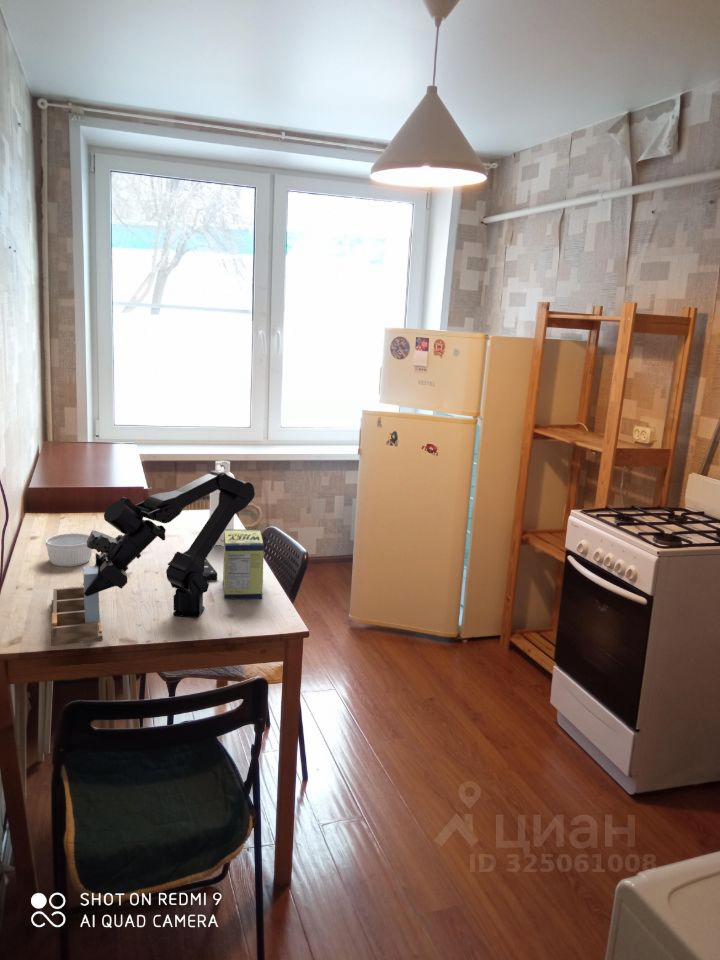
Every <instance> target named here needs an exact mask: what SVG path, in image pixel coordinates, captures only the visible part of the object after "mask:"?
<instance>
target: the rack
mask: <svg viewBox="0 0 720 960" xmlns="http://www.w3.org/2000/svg"><path fill="white" fill-rule="evenodd" d="M52 590H53V594H52V599H51V609H50V611H51V612H50V613H51V615H50V646H56V645H65V644H75V643H83V642H84V643H85V642H94V641H103V629H102V623H101V615H100V613H99V623H88V624H85V610H84V586H75V587H73V586H72V587H61V588H53V589H52Z"/></svg>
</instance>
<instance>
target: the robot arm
mask: <svg viewBox="0 0 720 960" xmlns="http://www.w3.org/2000/svg"><path fill="white" fill-rule="evenodd" d="M216 490H219V491H220V493H219V504H218V506H217V508H216V509H215V511H214V512H213V514H212V515H211V517H210V516H209V517H210V518H208V520H206V523H205V524H204V526H203V527H202V528H201V530H200V531H199V533H198V534H197V536H196V537H195V539H194V540H193V542H192V543H191V545H190V547H189V548H188V549H187V550H186V551H184V552H180V551H176V552H175V554H173V557H172V558H171V560H170V561H169V562H168V563H167V569H166V571H165V573H166V579H167V581H168V582H169V583H170V587H172V588H173V589H176V590H175V594H174V595H173V611H174V612H173V614H172V615H173V616H175V617H184V618H185V617H187V618H199V617H200V615H201V614H202V613H203V611H204V610H205V609H206V608H205V606H204V605H203V604H204V601H203V600H204V593H207V592H208V589H209V585H210V584H209V581H206V580H204V579H203V578H202V575H203V573H204V565H205V559H207V558H208V556H209V554H210V552H212V550H213V548H214V547H215V546H214V545H215V544H216V542H217V541H218V539H219V538H220V536H221V534H222V533H223V531H224V530H225V528H226V527H227V525H228V524H229V522H230V521H231V519H232V518H233V516H234V517H235V515H236V514H238V513H239V512H241V511H242V510H244V509H246V508H247V507H248V505H249V504H250V503H251V502H252V501H253V499H254V498H255V494H256V493H255V486H254V485H253V483H251V482H248V481H245V480H241V479H237V478H235V479H234V478H232V477H230V476H228V475H226V474H225V473H223V472H219V471H215V469H214V470H210V471H209V472H207V473H206V474H204V475H202V476H201V477H198V478H197V479H195V480H193V481H191V482H189V483H187V484H184V485H183V486H181V487H178V488H177V489H175V490H172V491H165V492H158V493H155V494H152V495H149V496H147V497H146V498H145V499H144V500H143V501H142V502H139V503H136V504H134V503H133V502H132V500H131V499H129V498H128V497H125V496H121V497H120V498H119V500H116V501H114V502H113V503H112V504H110V505H108V506H107V508H106V509H105V511H104V515H103V520H104V521H105V522H106V523H108V524H109V525H111V526H112V527H113V528H115V529H116V530H117V531H119V532H120V533H122V534H118V535H117V536H116V537H112V536H110V535H108V534H106V533H103V532H100V531H97V530H94V529H92V530H91V532H90V534H89V535H90V536H89V538H88V540H87V542H86V543H87V547H88V548H90V549H92V550H95V551H96V553H95V563H94V565H93V566H97V569H98V574H97V576H96V577H95V579H94V580H93V581H92V583H91V584H90V585H89V587H88V588H87V589H86V591H85V592H84V594H85V595H86V596H90V595H92V594H95V593H97V592H99V593H100V592H102V591H104V590H108V589H111V588H114V587H118V588H119V589H123V588H124V587H125V586H126V585H127V584H128V575H127V571H128V570H129V565H130V564H131V563H132V562H133V561H134V560H135V559H140V557H142V552H143V551H144V550H145V549H146V548H147V547H148V546H149V545H150V544H151V543H152V542H153V541H155V539H157V538H159V539H160V540H161V541H165V540H166V530H167V529H166V528H165V527H164V526H163V525H157V524H156V523H154V522H153V521H155V522H158V523H161V524H168V523H170V522H172V521H173V520H175V519H176V518H178V516H179V515H181V513H182V511H183V510H184V509H185V508H186V507H187V506H189V505H191V504H193V503H195V502H197V501H199V500H201V499H202V498H205V497H206V496H208V495H210V493H212V492H214V491H216ZM144 518H146V519H145V520H144ZM151 520H152V521H151ZM98 553H99V554H98ZM82 587H84V582H83V583H82Z"/></svg>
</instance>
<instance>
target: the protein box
mask: <svg viewBox="0 0 720 960" xmlns="http://www.w3.org/2000/svg"><path fill="white" fill-rule="evenodd" d="M223 541H224V546H223V569H222V570H223V571H222V574H223V580H222V581H223V597H224V600H244V599H245V600H246V599H247V600H248V599H250V600H251V599H263V585H264V553H265V550H264V549H265V545H264V541H263V536H262V533H261V529H234V530H226V529H225V530H224V540H223Z"/></svg>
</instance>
